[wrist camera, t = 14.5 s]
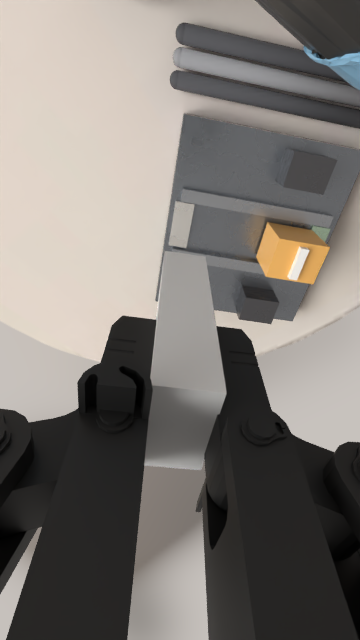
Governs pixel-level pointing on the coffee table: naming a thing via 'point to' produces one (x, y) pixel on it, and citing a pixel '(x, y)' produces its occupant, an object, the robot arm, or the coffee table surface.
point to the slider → (291, 253)
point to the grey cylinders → (261, 76)
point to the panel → (251, 206)
